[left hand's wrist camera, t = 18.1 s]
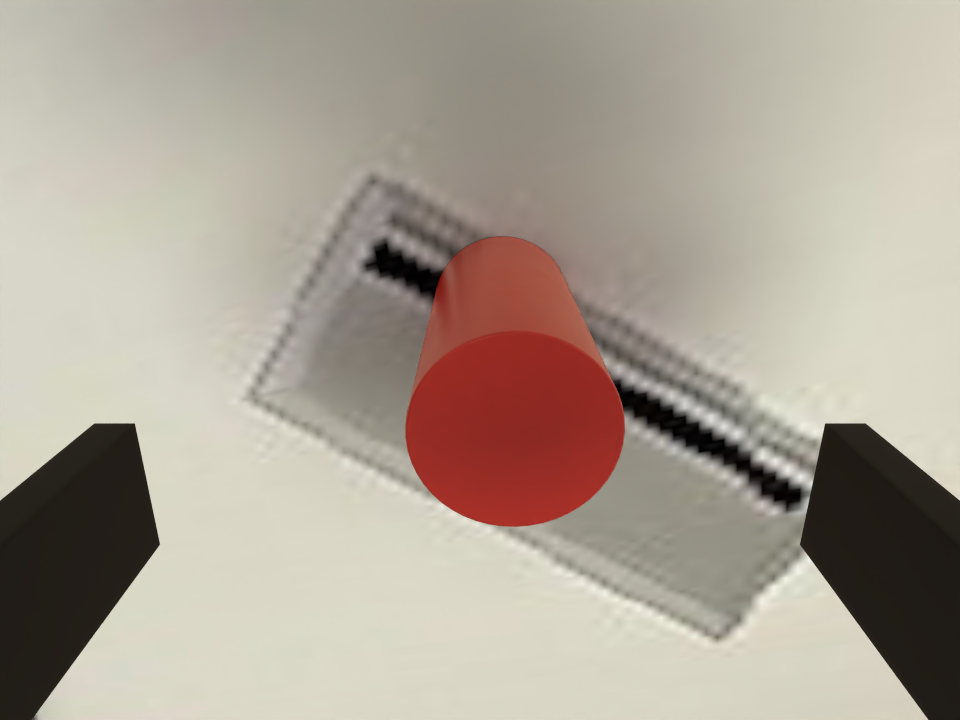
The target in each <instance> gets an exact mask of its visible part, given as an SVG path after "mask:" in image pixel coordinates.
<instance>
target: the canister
mask: <svg viewBox="0 0 960 720" xmlns="http://www.w3.org/2000/svg"><path fill="white" fill-rule="evenodd" d="M624 433H625V418H624V412H623V407H622V403H621V400H620V397H619V394H618V391H617V389H616V387H615V385H614V383H613V381H612V379H611V377H610V374H609V372H608V370H607V368H606V366H605V364H604V362H603V360H602V357H601V355H600V353H599V351H598V349H597V347H596V345H595V343H594V340H593V338H592V336H591V334H590V332H589V330H588V328H587V325H586V323H585V321H584V319H583V317H582V315H581V313H580V311H579V308H578V306H577V304H576V302H575V300H574V298H573V296H572V294H571V291H570V289H569V287H568V285H567V283H566V281H565V279H564V277H563V274H562V272H561V270H560V268H559V267H558V266H557V264H556V263H555V261H554V260H553V259H552V258H551V257H550V256H549V255H548V254H547V253H546V252H545V251H544V250H542V249H541V248H539V247H538V246H536V245H534V244H532V243H530V242H528V241H525V240H522V239H519V238H513V237H491V238H487V239H482V240H480V241H477V242H474V243H472V244H471V245H469V246H467V247H465V248H464V249H462V250H461V251H460V252H458V253H457V254H456V255H455V256H454V257H453V258H452V259H451V261H450V262H449V263H448V264H447V266H446V267H445V269H444V271H443V272H442V274H441V277H440V279H439V282H438V285H437V289H436V293H435V297H434V302H433V306H432V310H431V314H430V318H429V322H428V327H427V331H426V335H425V339H424V343H423V348H422V352H421V356H420V360H419V364H418V368H417V373H416V377H415V381H414V385H413V389H412V394H411V398H410V402H409V406H408V410H407V416H406V424H405V436H406V444H407V450H408V453H409V456H410V460H411V463H412V465H413V467H414V469H415V471H416V473H417V475H418V476H419V478H420V479H421V481H422V482H423V484H424V485H425V486H426V487H427V489H428V490H429V491H430V492H431V493H432V494H433V495H434V496H435V497H436V498H437V499H438V500H439V501H441V502H442V503H443V504H444V505H446V506H447V507H449V508H450V509H452V510H453V511H455V512H457V513H459V514H461V515H463V516H465V517H467V518H470V519H473V520H475V521H479V522H482V523H486V524H491V525H498V526H513V527H517V526H530V525H535V524H540V523H544V522H548V521H551V520H554V519H557V518H559V517H561V516H564V515H566V514H568V513H570V512H572V511H573V510H575V509H577V508H578V507H580V506H581V505H583V504H584V503H585V502H587V501H588V500H589V499H591V498H592V497H593V496H594V495H595V494H596V493H597V492H598V491H599V490H600V489H601V487H602V486H603V485H604V484H605V482H606V481H607V480H608V478H609V477H610V475H611V473H612V472H613V470H614V468H615V466H616V464H617V461H618V459H619V457H620V453H621V450H622V446H623V441H624Z"/></svg>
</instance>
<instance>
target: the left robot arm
mask: <svg viewBox="0 0 960 720" xmlns="http://www.w3.org/2000/svg"><path fill="white" fill-rule="evenodd" d="M159 545H160V542H159V538H158V533H157V528H156V523H155V519H154V514H153V509H152V504H151V499H150V495H149V490H148V485H147V480H146V475H145V471H144V466H143V461H142V456H141V451H140V447H139V442H138V437H137V432H136V427H135V424H93V425H92V426H91V427H90V428H88V429H87V430H86V431H85V432H84V433H82V434H81V435H80V436H79V437H77V438H76V439H75V440H74V441H73V442H71V443H70V444H69V445H68V446H66V447H65V448H64V449H63V450H62V451H60V452H59V453H58V454H57V455H55V456H54V457H53V458H52V459H51V460H49V461H48V462H47V463H46V464H44V465H43V466H42V467H41V468H40V469H38V470H37V471H36V472H35V473H33V474H32V475H31V476H30V477H29V478H27V479H26V480H25V481H24V482H22V483H21V484H20V485H19V486H18V487H16V488H15V489H14V490H13V491H11V492H10V493H9V494H8V495H7V496H5V497H4V498H3V499H2V500H1V501H0V720H32V718H33V717H34V716H35V714H36V713H37V712H38V710H39V709H40V707H41V706H42V705H43V703H44V702H45V701H46V699H47V698H48V697H49V695H50V694H51V692H52V691H53V690H54V688H55V687H56V686H57V684H58V683H59V682H60V680H61V679H62V677H63V676H64V675H65V673H66V672H67V671H68V669H69V668H70V667H71V665H72V664H73V662H74V661H75V660H76V658H77V657H78V656H79V654H80V653H81V652H82V650H83V649H84V647H85V646H86V645H87V643H88V642H89V641H90V639H91V638H92V637H93V635H94V634H95V632H96V631H97V630H98V628H99V627H100V626H101V624H102V623H103V622H104V620H105V619H106V617H107V616H108V615H109V613H110V612H111V611H112V609H113V608H114V606H115V605H116V604H117V602H118V601H119V600H120V598H121V597H122V596H123V594H124V593H125V591H126V590H127V589H128V587H129V586H130V585H131V583H132V582H133V581H134V579H135V578H136V576H137V575H138V574H139V572H140V571H141V570H142V568H143V567H144V566H145V564H146V563H147V561H148V560H149V559H150V557H151V556H152V555H153V553H154V552H155V551H156V549H157V548H158V546H159ZM800 545H801V546H802V548H803V549H804V551H805V552H806V553H807V555H808V556H809V557H810V559H811V560H812V561H813V563H814V564H815V566H816V567H817V568H818V570H819V571H820V572H821V574H822V575H823V576H824V578H825V579H826V581H827V582H828V583H829V585H830V586H831V587H832V589H833V590H834V591H835V593H836V594H837V596H838V597H839V598H840V600H841V601H842V602H843V604H844V605H845V606H846V608H847V609H848V611H849V612H850V613H851V615H852V616H853V617H854V619H855V620H856V622H857V623H858V624H859V626H860V627H861V628H862V630H863V631H864V632H865V634H866V635H867V637H868V638H869V639H870V641H871V642H872V643H873V645H874V646H875V647H876V649H877V650H878V652H879V653H880V654H881V656H882V657H883V658H884V660H885V661H886V662H887V664H888V665H889V667H890V668H891V669H892V671H893V672H894V673H895V675H896V676H897V677H898V679H899V680H900V682H901V683H902V684H903V686H904V687H905V688H906V690H907V691H908V692H909V694H910V695H911V697H912V698H913V699H914V701H915V702H916V703H917V705H918V706H919V707H920V709H921V710H922V712H923V713H924V714H925V716H926V717H927V718H928V720H960V501H959V500H958V499H957V498H956V497H955V496H953V495H952V494H951V493H950V492H949V491H947V490H946V489H945V488H944V487H942V486H941V485H940V484H939V483H938V482H936V481H935V480H934V479H933V478H931V477H930V476H929V475H928V474H927V473H925V472H924V471H923V470H922V469H920V468H919V467H918V466H917V465H916V464H914V463H913V462H912V461H911V460H909V459H908V458H907V457H906V456H905V455H903V454H902V453H901V452H900V451H898V450H897V449H896V448H895V447H894V446H892V445H891V444H890V443H889V442H887V441H886V440H885V439H884V438H883V437H881V436H880V435H879V434H878V433H876V432H875V431H874V430H873V429H872V428H870V427H869V426H868V425H867V424H825V427H824V432H823V437H822V442H821V447H820V451H819V456H818V461H817V466H816V471H815V475H814V480H813V485H812V490H811V495H810V499H809V504H808V509H807V514H806V519H805V523H804V528H803V533H802V538H801V542H800Z"/></svg>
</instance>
